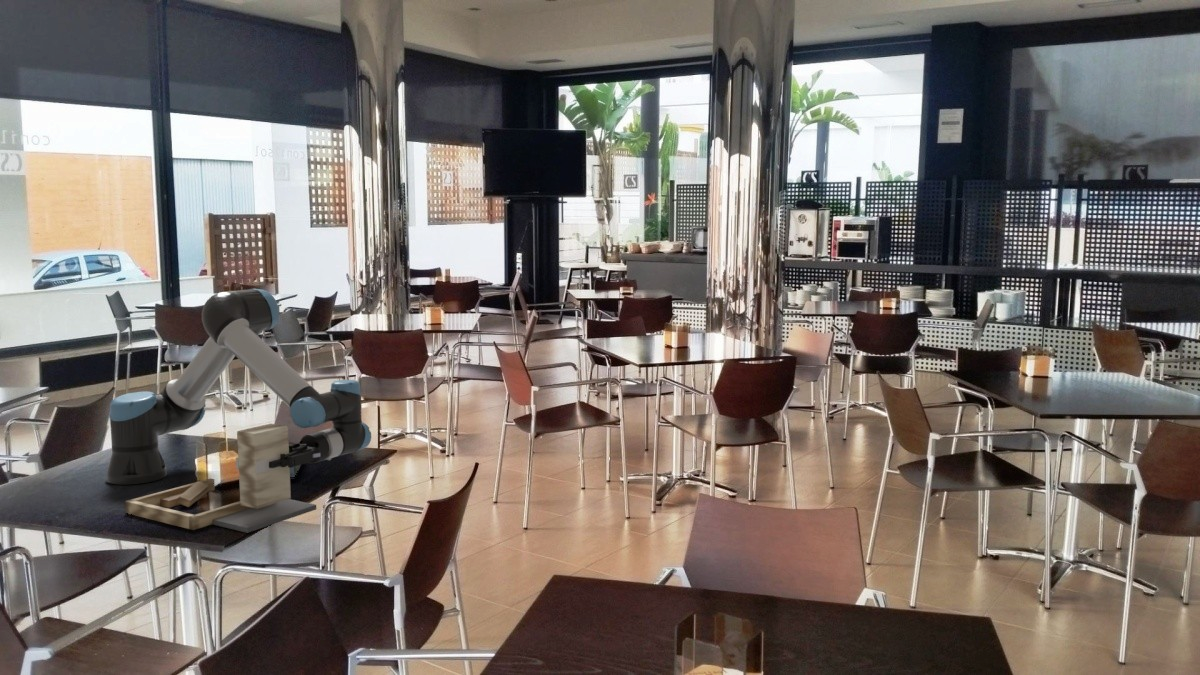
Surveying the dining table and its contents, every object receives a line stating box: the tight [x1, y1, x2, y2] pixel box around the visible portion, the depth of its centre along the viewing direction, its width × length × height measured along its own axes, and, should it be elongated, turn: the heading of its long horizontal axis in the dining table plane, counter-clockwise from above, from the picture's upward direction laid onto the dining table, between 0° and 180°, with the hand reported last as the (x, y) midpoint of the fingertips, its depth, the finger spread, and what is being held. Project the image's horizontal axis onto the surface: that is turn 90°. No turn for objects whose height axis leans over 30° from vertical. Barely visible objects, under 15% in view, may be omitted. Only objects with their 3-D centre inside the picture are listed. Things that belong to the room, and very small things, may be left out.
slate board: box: [212, 498, 317, 534], centre depth 229 cm, size 12×21×1 cm, turn 150°
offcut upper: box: [178, 480, 209, 508], centre depth 241 cm, size 3×9×2 cm, turn 172°
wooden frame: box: [124, 478, 251, 531], centre depth 236 cm, size 26×24×3 cm
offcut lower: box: [159, 492, 208, 509], centre depth 242 cm, size 4×11×2 cm, turn 150°
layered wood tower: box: [236, 423, 292, 509], centre depth 228 cm, size 6×10×18 cm, turn 150°
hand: (246, 465), depth 223 cm, fingers closed on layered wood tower, 6 cm apart
